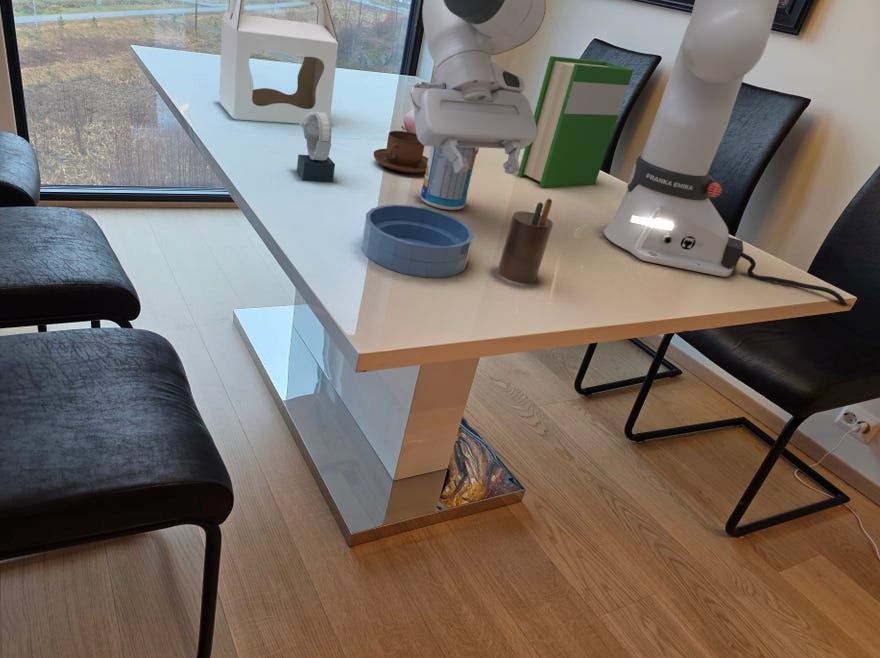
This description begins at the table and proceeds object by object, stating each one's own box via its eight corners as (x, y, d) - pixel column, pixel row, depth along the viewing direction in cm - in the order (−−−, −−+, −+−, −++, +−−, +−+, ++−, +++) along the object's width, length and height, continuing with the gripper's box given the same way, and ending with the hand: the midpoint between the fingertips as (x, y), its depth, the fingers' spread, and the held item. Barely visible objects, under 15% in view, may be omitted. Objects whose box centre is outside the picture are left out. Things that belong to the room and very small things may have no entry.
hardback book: (542, 187, 139) (578, 64, 126) (517, 175, 144) (550, 56, 131) (595, 183, 149) (633, 70, 136) (570, 172, 154) (605, 61, 141)
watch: (323, 169, 123) (330, 108, 117) (335, 185, 117) (343, 121, 111) (293, 168, 121) (299, 105, 115) (304, 183, 115) (311, 118, 109)
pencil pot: (536, 276, 98) (561, 195, 92) (532, 290, 93) (558, 206, 87) (499, 265, 99) (522, 185, 92) (493, 279, 94) (516, 195, 88)
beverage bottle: (436, 212, 114) (461, 89, 103) (410, 195, 119) (431, 76, 109) (474, 210, 118) (502, 92, 108) (447, 194, 124) (471, 80, 114)
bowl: (473, 253, 101) (481, 222, 99) (452, 292, 88) (461, 257, 86) (379, 227, 103) (384, 196, 101) (345, 261, 91) (350, 227, 88)
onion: (409, 141, 152) (414, 109, 148) (395, 131, 158) (400, 100, 154) (439, 143, 155) (446, 111, 152) (425, 133, 161) (431, 102, 157)
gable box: (311, 110, 161) (324, -22, 146) (330, 126, 151) (346, -13, 137) (218, 103, 151) (222, -39, 136) (232, 119, 141) (238, -31, 127)
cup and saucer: (426, 182, 128) (433, 150, 125) (366, 168, 128) (371, 136, 125) (434, 166, 138) (440, 136, 135) (378, 154, 139) (383, 123, 135)
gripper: (418, 68, 93) (440, 160, 91) (531, 79, 103) (553, 163, 101) (398, 93, 98) (418, 181, 96) (507, 102, 108) (527, 181, 106)
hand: (488, 172), depth 99 cm, fingers open, 8 cm apart
